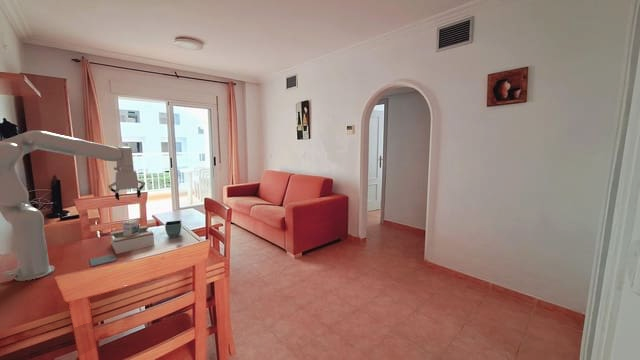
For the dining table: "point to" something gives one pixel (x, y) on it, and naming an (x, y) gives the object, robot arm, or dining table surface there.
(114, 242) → the slotted crate
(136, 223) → the syrup box
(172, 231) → the flower pot
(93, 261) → the placing mat
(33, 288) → the dining table surface
